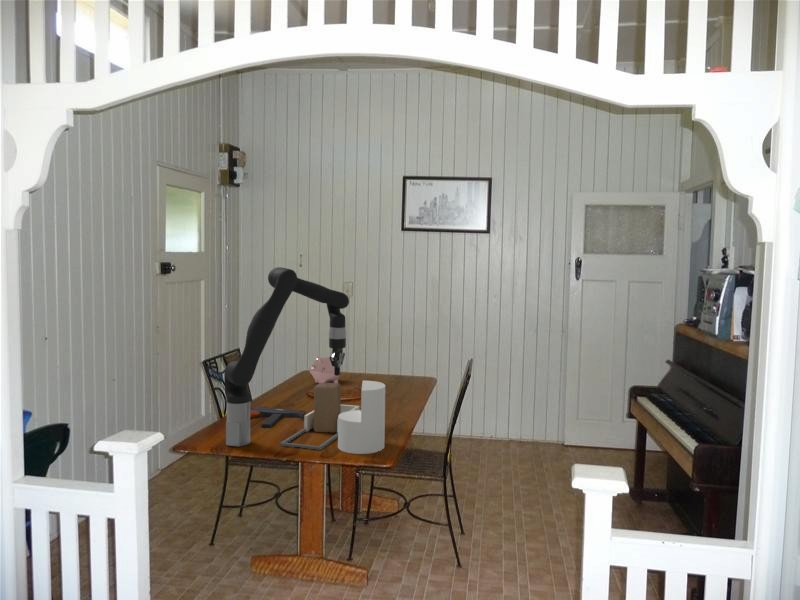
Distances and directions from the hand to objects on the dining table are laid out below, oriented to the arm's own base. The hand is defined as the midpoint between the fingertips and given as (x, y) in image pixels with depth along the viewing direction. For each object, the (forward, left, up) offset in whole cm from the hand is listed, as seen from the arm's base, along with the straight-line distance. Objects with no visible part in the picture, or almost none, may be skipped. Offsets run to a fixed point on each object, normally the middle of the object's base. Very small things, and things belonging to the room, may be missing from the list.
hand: (337, 375), depth 293 cm
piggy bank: (+77, +39, -22) cm, 89 cm away
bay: (-27, 0, -22) cm, 35 cm away
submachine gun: (-5, +30, -23) cm, 38 cm away
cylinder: (-28, -22, -22) cm, 42 cm away
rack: (-5, 0, -22) cm, 23 cm away
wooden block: (-11, 0, -22) cm, 25 cm away
